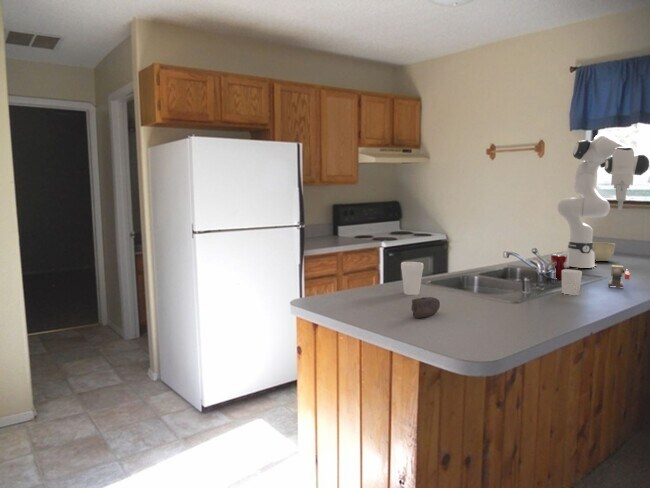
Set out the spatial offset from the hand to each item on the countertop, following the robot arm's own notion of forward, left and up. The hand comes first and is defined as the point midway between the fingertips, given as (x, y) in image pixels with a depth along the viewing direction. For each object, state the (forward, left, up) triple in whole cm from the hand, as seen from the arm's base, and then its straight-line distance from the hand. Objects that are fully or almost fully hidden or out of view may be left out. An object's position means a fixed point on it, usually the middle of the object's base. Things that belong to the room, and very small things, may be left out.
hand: (619, 210), depth 238 cm
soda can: (-4, -26, -34) cm, 43 cm away
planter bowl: (-60, +25, -34) cm, 74 cm away
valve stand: (+13, -7, -34) cm, 37 cm away
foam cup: (+29, -104, -34) cm, 113 cm away
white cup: (+30, -36, -34) cm, 58 cm away
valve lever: (+14, -3, -27) cm, 31 cm away
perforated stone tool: (+65, -105, -34) cm, 128 cm away
